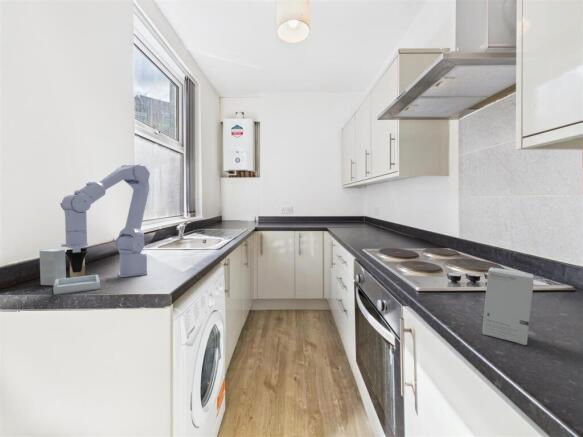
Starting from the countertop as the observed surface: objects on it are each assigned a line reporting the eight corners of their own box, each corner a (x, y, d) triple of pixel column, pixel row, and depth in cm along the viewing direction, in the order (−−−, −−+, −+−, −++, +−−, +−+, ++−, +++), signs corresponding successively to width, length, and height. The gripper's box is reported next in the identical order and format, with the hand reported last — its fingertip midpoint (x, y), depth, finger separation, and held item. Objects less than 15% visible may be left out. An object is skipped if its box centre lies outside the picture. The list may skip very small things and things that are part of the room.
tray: (98, 280, 106) (97, 274, 106) (100, 288, 96) (99, 282, 96) (55, 285, 98) (55, 279, 98) (53, 295, 89) (53, 287, 89)
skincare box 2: (482, 334, 66) (485, 270, 65) (485, 326, 70) (488, 266, 69) (529, 346, 60) (533, 276, 59) (530, 336, 65) (533, 271, 64)
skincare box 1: (66, 282, 103) (65, 249, 102) (55, 285, 99) (54, 251, 98) (51, 281, 104) (50, 248, 103) (39, 285, 99) (38, 250, 99)
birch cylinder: (84, 273, 100) (84, 253, 100) (84, 276, 97) (84, 255, 96) (70, 275, 98) (70, 254, 97) (69, 277, 94) (69, 256, 94)
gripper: (62, 229, 100) (62, 268, 100) (59, 233, 88) (61, 277, 89) (86, 228, 104) (87, 265, 105) (88, 232, 92) (88, 273, 93)
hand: (77, 270), depth 97 cm, fingers closed on birch cylinder, 4 cm apart
